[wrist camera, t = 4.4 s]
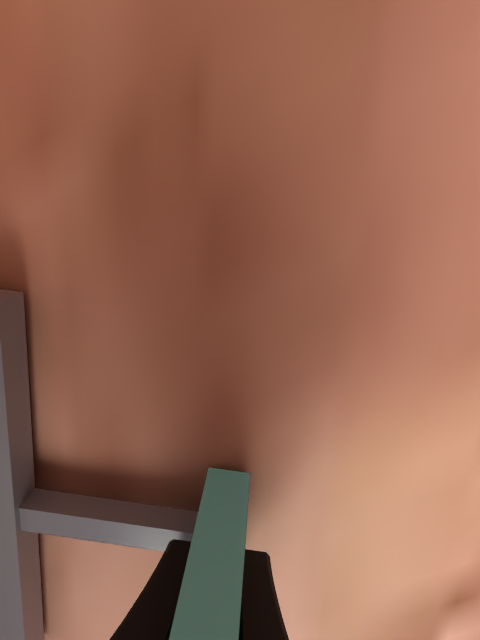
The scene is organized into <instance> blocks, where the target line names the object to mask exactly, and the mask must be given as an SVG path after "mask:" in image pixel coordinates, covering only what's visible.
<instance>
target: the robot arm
mask: <svg viewBox="0 0 480 640" xmlns="http://www.w3.org/2000/svg"><path fill="white" fill-rule="evenodd" d="M190 546H191V541H184V540H177V539H173V540H171V541H170V542H169V543H168V545H167V548H166V550H165V552H164V554H163V556H162V558H161V560H160V562H159V563H158V565H157V567H156V569H155V571H154V572H153V574H152V576H151V577H150V579H149V581H148V582H147V584H146V586H145V587H144V589H143V591H142V592H141V594H140V595H139V597H138V598H137V600H136V602H135V603H134V605H133V606H132V608H131V609H130V611H129V612H128V614H127V615H126V617H125V618H124V620H123V621H122V623H121V624H120V626H119V627H118V629H117V630H116V631H115V633H114V634H113V636H112V637H111V638H110V640H169V637H170V633H171V628H172V624H173V620H174V615H175V611H176V607H177V602H178V598H179V594H180V589H181V585H182V581H183V576H184V572H185V568H186V563H187V559H188V554H189V550H190ZM238 640H289V638H288V635H287V632H286V629H285V625H284V622H283V618H282V614H281V611H280V607H279V603H278V599H277V595H276V590H275V586H274V581H273V576H272V570H271V563H270V556H269V555H268V554H267V553H266V552H260V551H253V550H246V549H245V556H244V570H243V583H242V597H241V611H240V625H239V639H238Z"/></svg>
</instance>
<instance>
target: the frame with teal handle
mask: <svg viewBox="0 0 480 640" xmlns="http://www.w3.org/2000/svg"><path fill="white" fill-rule="evenodd" d="M249 487H250V473H246V472H239V471H231V470H224V469H217V468H210V467H209V468H208V472H207V476H206V481H205V485H204V489H203V494H202V498H201V502H200V507H199V511H198V512H197V511H190V510H183V509H176V508H169V507H162V506H155V505H148V504H141V503H134V502H127V501H120V500H113V499H106V498H99V497H93V496H86V495H79V494H72V493H65V492H58V491H51V490H44V489H37V488H35V477H34V460H33V444H32V427H31V411H30V394H29V377H28V361H27V344H26V327H25V311H24V294H23V292H20V291H12V290H4V289H0V640H44V627H43V610H42V594H41V577H40V560H39V544H38V533H41V534H48V535H55V536H61V537H68V538H75V539H82V540H88V541H95V542H102V543H109V544H115V545H122V546H129V547H136V548H142V549H149V550H156V551H163V552H165V550H166V548H167V545H168V543H169V542H170V541H171V540H173V539H177V540H184V541H191V546H190V550H189V554H188V559H187V563H186V568H185V572H184V576H183V581H182V585H181V589H180V594H179V598H178V602H177V607H176V611H175V615H174V620H173V624H172V628H171V633H170V637H169V640H238V639H239V625H240V611H241V597H242V583H243V570H244V556H245V542H246V528H247V514H248V501H249Z"/></svg>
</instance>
